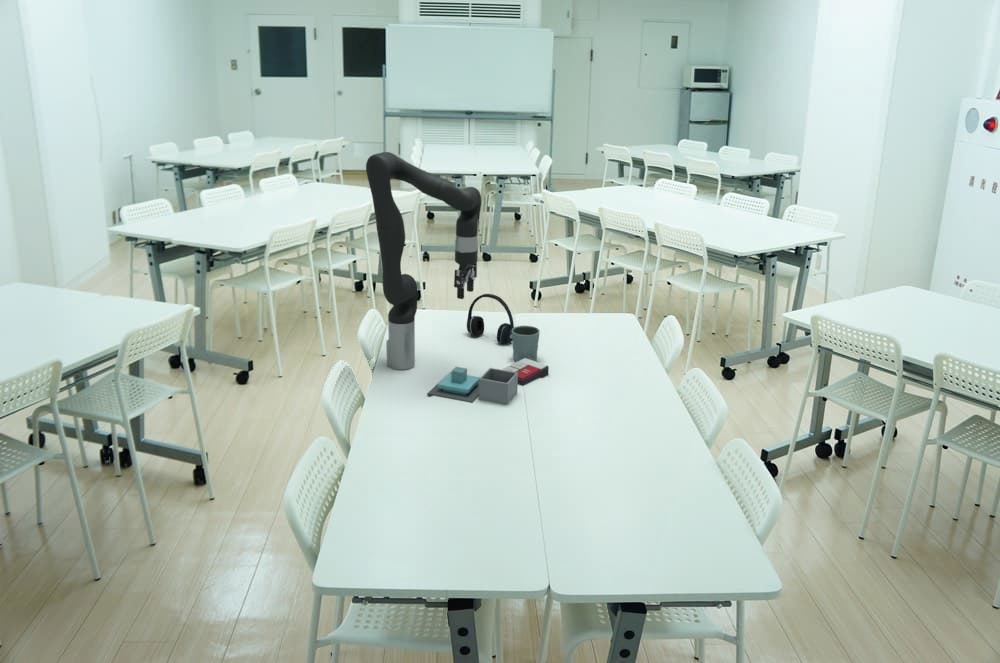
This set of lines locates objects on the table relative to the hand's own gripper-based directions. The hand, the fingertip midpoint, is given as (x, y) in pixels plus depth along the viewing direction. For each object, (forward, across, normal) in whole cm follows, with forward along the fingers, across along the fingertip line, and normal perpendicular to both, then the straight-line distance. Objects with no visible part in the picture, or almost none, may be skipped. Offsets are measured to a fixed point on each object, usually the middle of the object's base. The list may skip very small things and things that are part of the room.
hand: (465, 294), depth 285 cm
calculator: (+30, -8, +19) cm, 37 cm away
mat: (+30, +12, +3) cm, 32 cm away
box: (+30, +12, +17) cm, 36 cm away
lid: (+29, +12, +3) cm, 31 cm away
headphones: (+30, -37, -4) cm, 48 cm away
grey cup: (+30, -22, +15) cm, 40 cm away
